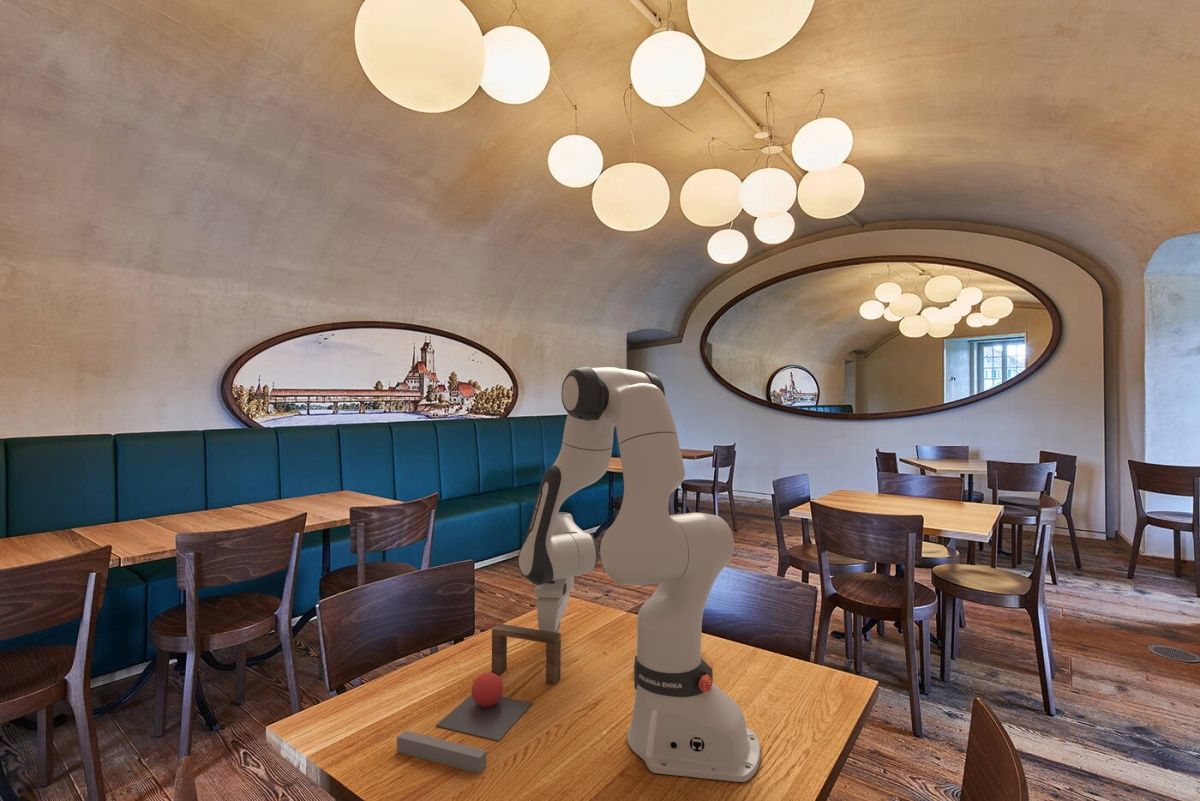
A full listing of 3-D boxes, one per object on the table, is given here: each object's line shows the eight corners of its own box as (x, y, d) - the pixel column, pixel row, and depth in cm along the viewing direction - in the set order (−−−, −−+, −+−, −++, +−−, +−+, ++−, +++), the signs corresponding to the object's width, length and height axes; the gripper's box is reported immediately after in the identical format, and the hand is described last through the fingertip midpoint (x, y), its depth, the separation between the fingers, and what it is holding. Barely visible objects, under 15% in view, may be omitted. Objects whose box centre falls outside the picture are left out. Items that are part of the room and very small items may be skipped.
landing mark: (532, 703, 109) (532, 702, 109) (498, 741, 97) (498, 740, 97) (475, 691, 113) (475, 690, 113) (435, 726, 101) (435, 725, 101)
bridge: (498, 667, 124) (499, 623, 124) (560, 678, 119) (560, 633, 119) (491, 673, 121) (491, 628, 121) (554, 685, 116) (554, 638, 116)
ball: (485, 700, 103) (497, 716, 106) (502, 669, 108) (512, 687, 111) (460, 692, 106) (472, 709, 109) (477, 663, 110) (488, 680, 113)
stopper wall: (486, 766, 90) (486, 750, 90) (479, 773, 88) (479, 757, 88) (404, 745, 95) (405, 730, 95) (397, 751, 94) (397, 736, 94)
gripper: (550, 566, 145) (550, 619, 145) (532, 592, 125) (532, 654, 124) (574, 567, 144) (574, 621, 144) (560, 593, 124) (560, 656, 124)
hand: (554, 637), depth 134 cm, fingers closed
